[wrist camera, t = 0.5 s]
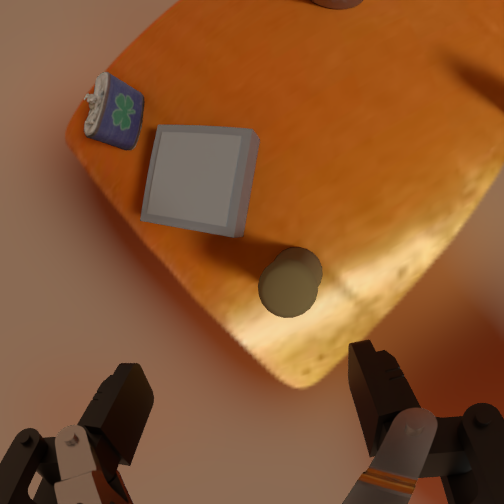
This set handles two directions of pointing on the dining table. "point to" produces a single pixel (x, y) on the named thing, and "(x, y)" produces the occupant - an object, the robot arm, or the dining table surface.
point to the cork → (290, 282)
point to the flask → (114, 113)
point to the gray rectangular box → (201, 178)
